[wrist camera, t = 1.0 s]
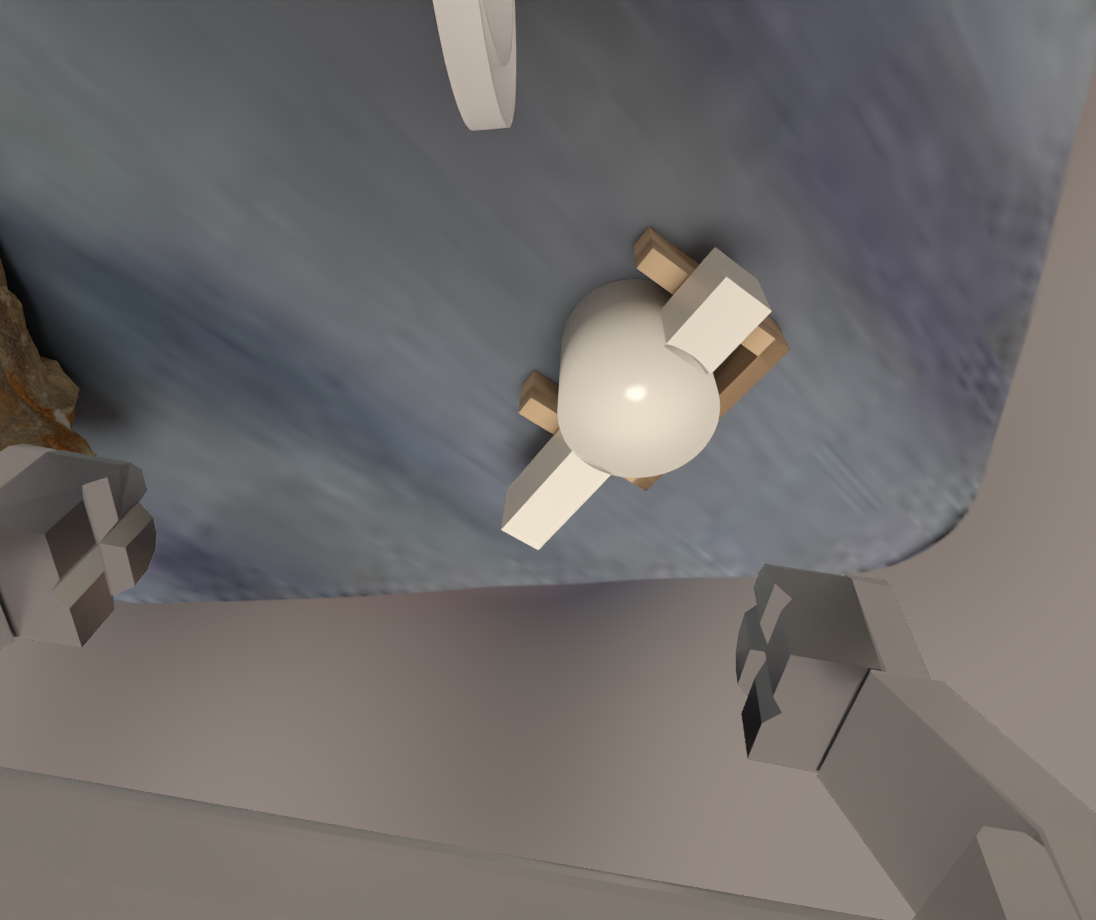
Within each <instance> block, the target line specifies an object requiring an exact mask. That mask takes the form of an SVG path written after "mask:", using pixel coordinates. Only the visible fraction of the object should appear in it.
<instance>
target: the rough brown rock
mask: <svg viewBox="0 0 1096 920" xmlns="http://www.w3.org/2000/svg"><path fill="white" fill-rule="evenodd" d="M78 393H79V388H78V387H77V386H76V385H75V384H74V382H73V381H72V380H71V379H70V378H69V377H68V376H67V375H66V374H65V373H64V372H63V370H62V368H61V367H60V365H59V363H58V362H57V361H56V360H52V359H48V358H44V357H41V356H39V353H38V350H37V348H36V347H35V345H34V343H33V341H32V339H31V336H30V334H29V332H28V330H27V328H26V322H25V318H24V314H23V307H22V304H21V303H20V301H19V300H18V298H17V297H16V296H15V295H14V294H13V293H12V292H10V291H9V290H8V289H7V282H6V276H5V272H4V269H3V266H2V262H1V258H0V452H1V451H2V450H4V449H5V448H7V447H8V446H12V445H19V444H27V445H33V446H39V447H45V448H51V449H55V450H64V451H70V452H75V453H81V454H86V455H92V456H97V455H96V454H95V453H94V452H93V451H92V450H91V448H90V447H89V445H88V443H87V441H86V440H85V439H84V438H83V437H81V436H80V435H79V434H77V433H75V432H74V431H73V430H72V425H73V420H74V416H75V412H74V406H75V404H76V401H77V399H78Z"/></svg>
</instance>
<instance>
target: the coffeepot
mask: <svg viewBox="0 0 1096 920" xmlns="http://www.w3.org/2000/svg"><path fill="white" fill-rule="evenodd" d="M433 6H434V11H435V16H436V21H437V27H438V32H439V37H440V41H441V46H442V51H443V55H444V60H445V64H446V68H447V72H448V76H449V80H450V83H451V87H452V90H453V94H454V97H455V100H456V103H457V106H458V109H459V111H460V114H461V116H462V118H463V121H464V123H465V124H466V125H467V127H468V128H469V129H470V130H487V129H499V128H510V126H511V124H512V121H513V116H514V109H515V96H516V18H515V0H433Z"/></svg>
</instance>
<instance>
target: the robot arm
mask: <svg viewBox="0 0 1096 920" xmlns="http://www.w3.org/2000/svg"><path fill="white" fill-rule="evenodd" d="M146 491H147V487H146V484H145V480H144V476H143V473H142V469H140V468H139V467H137V466H136V465H134V464H132V463H130V462H125V461H119V460H114V459H108V458H103V457H97V456H92V455H86V454H81V453H75V452H70V451H64V450H55V449H51V448H45V447H39V446H33V445H27V444H19V445H12V446H8V447H7V448H5V449H4V450H2V451H1V452H0V650H1V649H3V648H4V647H6V646H8V645H10V644H11V643H13V642H14V641H15V640H14V638H17V639H24V640H31V641H38V642H45V643H53V644H60V645H67V646H75V647H83V645H85V643H86V642H87V641H88V640H89V639H90V638H91V636H92V635H93V634H94V633H95V632H96V630H97V629H98V628H99V627H100V626H101V625H102V623H103V622H104V621H105V620H106V619H107V618H108V617H109V615H110V614H111V613H112V612H113V611H114V601H113V596H114V595H116V594H118V593H120V592H122V591H124V590H127V589H129V588H131V587H133V586H135V585H136V584H137V582H138V581H139V580H140V579H141V577H142V576H143V575H144V574H145V573H146V571H147V570H148V567H149V565H150V562H151V560H152V557H153V555H154V552H155V550H156V528H155V523H154V518H153V517H152V515H151V514H150V513H149V512H148V511H147V510H146V509H145V508H144V507H143V506H142V505H141V504H140V502H139V501H140V500H141V498H142V497H143V496H144V494H145V493H146ZM754 591H755V597H756V603H757V605H756V606H754V607H753V608H751V609H750V610H748V611H747V612H745V614H744V617H743V620H742V624H741V627H740V630H739V634H738V641H737V648H736V675H737V683H738V686H739V687H740V688H741V689H742V690H743V691H744V692H745V694H746V695H747V696H748V697H747V700H746V702H745V705H744V708H743V711H742V713H741V715H742V721H743V730H744V737H745V744H746V751H747V759H750V760H755V761H760V762H765V763H771V764H775V765H781V766H786V767H791V768H796V769H801V770H806V771H812V772H816V773H818V774H817V777H818V778H819V780H820V781H821V783H822V784H823V785H824V787H825V788H826V790H827V791H828V792H829V794H830V795H831V796H832V798H833V799H834V801H835V802H836V803H837V805H838V806H839V808H840V809H841V811H842V812H843V813H844V815H845V816H846V817H847V819H848V820H849V822H850V823H851V824H852V826H853V827H854V829H855V830H856V831H857V833H858V834H859V836H860V837H861V838H862V840H863V841H864V843H865V844H866V845H867V847H868V848H869V850H870V851H871V852H872V854H873V855H874V857H875V858H876V859H877V861H878V862H879V864H880V865H881V866H882V868H883V869H884V871H885V872H886V873H887V875H888V876H889V878H890V879H891V880H892V882H893V883H894V885H895V886H896V887H897V889H898V890H899V891H900V893H901V894H902V896H903V897H904V898H905V900H906V901H907V903H908V904H909V905H910V907H911V908H912V910H913V911H914V912H915V914H916V915H915V917H914V918H913V919H912V920H1096V813H1095V812H1094V811H1093V810H1092V809H1090V808H1089V807H1088V806H1087V805H1086V804H1084V802H1082V801H1081V800H1080V799H1079V798H1078V797H1077V796H1075V795H1074V794H1073V793H1072V792H1071V791H1070V790H1068V789H1067V788H1066V787H1065V786H1064V785H1063V784H1061V783H1060V782H1059V781H1058V780H1057V779H1056V778H1055V777H1053V776H1052V775H1051V774H1050V773H1049V772H1048V771H1047V770H1045V769H1044V768H1043V767H1042V766H1041V765H1040V764H1038V763H1037V762H1036V761H1035V760H1034V759H1033V758H1031V757H1030V756H1029V755H1028V754H1027V753H1026V752H1024V751H1023V750H1022V749H1021V748H1020V747H1018V745H1016V744H1015V743H1014V742H1013V741H1012V740H1011V739H1009V738H1008V737H1007V736H1006V735H1005V734H1004V733H1002V732H1001V731H1000V730H999V729H998V728H997V727H996V726H994V725H993V724H992V723H991V722H990V721H988V720H987V719H986V718H985V717H984V716H983V715H982V714H981V713H979V712H978V711H977V710H976V709H975V708H974V707H972V706H971V705H970V704H969V703H968V702H967V701H965V700H964V699H963V698H962V697H961V696H960V695H959V694H957V693H956V692H955V691H954V690H953V689H952V688H950V687H949V686H948V685H947V684H946V683H945V682H942V681H937V680H931V678H930V676H929V673H928V671H927V669H926V666H925V664H924V661H923V659H922V657H921V654H920V652H919V650H918V647H917V645H916V642H915V640H914V637H913V635H912V633H911V630H910V628H909V626H908V623H907V621H906V618H905V616H904V614H903V611H902V609H901V606H900V604H899V602H898V599H897V597H896V594H895V592H894V590H893V588H892V586H891V585H890V584H889V583H888V582H887V581H885V580H880V579H873V578H865V577H858V576H851V575H844V576H841V575H835V574H829V573H822V572H816V571H809V570H803V569H796V568H790V567H783V566H777V565H770V564H765V565H764V566H763V568H762V569H761V571H760V572H759V575H758V577H757V580H756V583H755V586H754ZM0 920H881V919H876V918H870V917H865V916H859V915H853V914H847V913H842V912H835V911H830V910H824V909H819V908H812V907H807V906H801V905H796V904H789V903H784V902H778V901H772V900H767V899H761V898H755V897H750V896H744V895H738V894H732V893H726V892H720V891H715V890H709V889H703V888H698V887H692V886H686V885H681V884H675V883H669V882H663V881H658V880H652V879H646V878H640V877H634V876H629V875H623V874H617V873H611V872H605V871H600V870H594V869H588V868H582V867H576V866H570V865H565V864H559V863H553V862H547V861H542V860H536V859H530V858H524V857H518V856H513V855H507V854H501V853H495V852H489V851H484V850H478V849H472V848H466V847H460V846H454V845H448V844H443V843H437V842H431V841H425V840H420V839H414V838H407V837H402V836H397V835H391V834H385V833H379V832H374V831H368V830H362V829H356V828H351V827H345V826H339V825H333V824H327V823H322V822H316V821H311V820H305V819H299V818H293V817H288V816H282V815H276V814H271V813H265V812H259V811H253V810H248V809H241V808H236V807H230V806H224V805H219V804H213V803H207V802H202V801H196V800H190V799H185V798H179V797H173V796H167V795H162V794H155V793H150V792H144V791H139V790H133V789H127V788H121V787H116V786H110V785H104V784H99V783H93V782H87V781H81V780H75V779H70V778H64V777H58V776H52V775H47V774H41V773H34V772H29V771H24V770H18V769H12V768H6V767H1V766H0Z"/></svg>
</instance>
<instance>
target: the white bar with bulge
mask: <svg viewBox="0 0 1096 920" xmlns="http://www.w3.org/2000/svg"><path fill="white" fill-rule="evenodd" d="M771 311H772V310H771V308H770V306H769V304H768V302H767V299H766V297H765V295H764V293H763V291H762V289H761V286H760V284H759V282H758V280H757V279H756V278H755V277H754V276H752V275H751V274H750V273H748V272H747V271H746V270H745V269H743V268H742V267H741V266H739V265H738V264H737V263H735V262H734V261H733V260H732V259H730V258H729V257H728V256H726V255H725V254H724V253H722V252H721V251H720V250H719V249H717V248H716V247H715V248H714V249H713V250H712V251H711V252H710V253H709V254H708V256H707V257H706V258H705V259H704V260H703V261H702V263H701V264H700V265H699V266H698V267H697V268H696V269H695V271H694V272H693V273H692V274H691V275H690V276H689V277H688V279H687V280H686V281H685V282H684V283H683V284H682V286H681V287H680V288H679V289H678V290H677V291H676V292H675V294H674V295H673V294H671V293H670V292H669V291H667V290H666V289H664V288H663V287H662V286H660V285H659V284H657V283H656V282H655V281H651V280H645V279H624V280H619V281H614V282H611V283H608V284H605V285H603V286H601V287H599V288H597V289H595V290H594V291H592V292H591V293H589V294H588V295H586V296H585V297H584V298H583V299H582V300H581V301H580V302H579V303H578V304H577V305H576V306H575V308H574V309H573V311H572V312H571V313H570V315H569V317H568V319H567V321H566V324H565V327H564V330H563V335H562V346H561V361H560V377H559V392H558V409H557V416H558V424H559V427H560V429H559V430H558V431H557V432H556V434H555V435H554V436H553V437H552V438H551V439H550V440H549V442H548V443H547V444H546V445H545V446H544V447H543V448H542V450H541V451H540V452H539V453H538V454H537V455H536V457H535V458H534V459H533V460H532V461H531V462H530V463H529V465H528V466H527V467H526V468H525V469H524V470H523V471H522V473H521V474H520V475H519V476H518V477H517V478H516V480H515V481H514V482H513V483H512V484H511V485H510V486H509V488H508V489H507V493H506V500H505V507H504V514H503V521H502V528H501V530H502V531H504V532H506V533H508V534H510V535H512V536H513V537H515V538H517V539H519V540H521V541H523V542H524V543H526V544H528V545H530V546H532V547H533V548H535V549H537V550H539V549H540V548H541V547H542V546H543V545H544V544H545V543H546V542H547V541H548V540H549V538H550V537H551V536H552V535H553V534H554V533H555V532H556V531H557V530H558V529H559V528H560V527H561V526H562V525H563V524H564V523H565V522H566V521H567V520H568V519H569V518H570V517H571V516H572V515H573V514H574V513H575V512H576V510H577V509H578V508H579V507H580V506H581V505H582V504H583V503H584V502H585V501H586V500H587V499H588V498H589V497H590V496H591V495H592V494H593V493H594V492H595V491H596V490H597V489H598V488H599V487H600V486H601V485H602V484H603V483H604V481H605V480H606V479H607V478H608V477H609V476H610V475H614V476H619V477H626V478H643V477H651V476H657V475H660V474H664V473H667V472H670V471H672V470H675V469H677V468H679V467H681V466H682V465H684V464H686V463H687V462H689V461H690V460H692V459H693V458H694V457H695V456H696V455H697V454H699V453H700V452H701V450H702V449H703V448H704V447H705V446H706V445H707V443H708V442H709V440H710V439H711V437H712V435H713V433H714V431H715V429H716V426H717V423H718V420H719V414H720V399H719V393H718V389H717V386H716V382H715V378H714V375H713V371H714V370H715V369H716V368H717V367H718V366H719V365H720V364H721V363H722V362H723V361H724V360H725V359H726V358H727V357H728V356H729V355H730V354H731V353H732V352H733V351H734V350H735V349H736V348H737V347H738V346H739V345H740V344H741V342H742V341H743V340H744V339H745V338H746V337H747V336H748V335H749V334H750V333H751V332H752V331H753V330H754V329H755V328H756V327H757V326H758V325H759V324H760V323H761V322H762V321H763V320H764V319H765V318H766V317H767V316H768V315H769V314H770V313H771Z"/></svg>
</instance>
